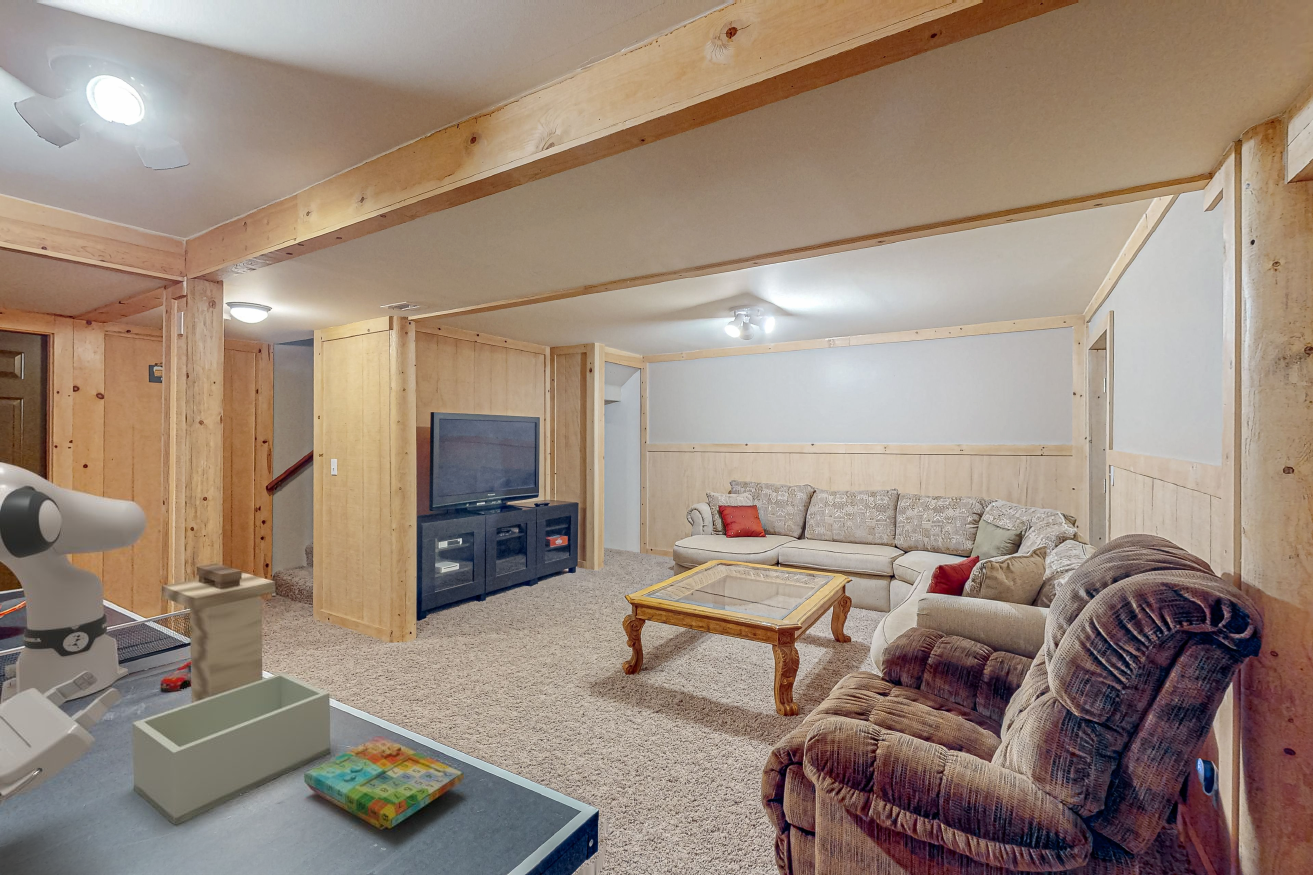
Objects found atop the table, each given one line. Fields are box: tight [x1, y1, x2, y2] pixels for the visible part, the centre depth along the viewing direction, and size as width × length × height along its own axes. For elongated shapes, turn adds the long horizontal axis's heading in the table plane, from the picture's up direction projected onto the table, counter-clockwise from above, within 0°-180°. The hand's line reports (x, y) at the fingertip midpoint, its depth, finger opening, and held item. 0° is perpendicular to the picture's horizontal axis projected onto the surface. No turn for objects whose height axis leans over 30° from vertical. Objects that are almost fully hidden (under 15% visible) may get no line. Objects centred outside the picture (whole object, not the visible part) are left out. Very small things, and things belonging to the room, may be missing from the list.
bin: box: [132, 672, 331, 826], centre depth 93 cm, size 15×21×10 cm
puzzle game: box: [303, 735, 464, 830], centre depth 86 cm, size 12×5×20 cm
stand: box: [161, 563, 276, 703], centre depth 105 cm, size 14×12×29 cm
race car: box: [159, 660, 191, 692], centre depth 126 cm, size 13×5×4 cm, turn 165°
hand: (104, 682), depth 79 cm, fingers open, 8 cm apart
